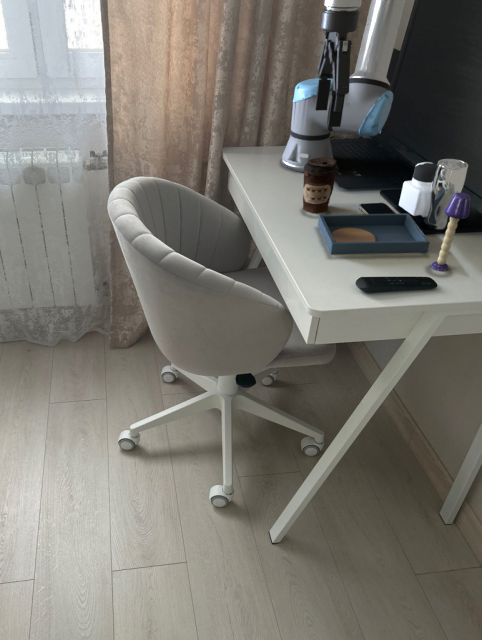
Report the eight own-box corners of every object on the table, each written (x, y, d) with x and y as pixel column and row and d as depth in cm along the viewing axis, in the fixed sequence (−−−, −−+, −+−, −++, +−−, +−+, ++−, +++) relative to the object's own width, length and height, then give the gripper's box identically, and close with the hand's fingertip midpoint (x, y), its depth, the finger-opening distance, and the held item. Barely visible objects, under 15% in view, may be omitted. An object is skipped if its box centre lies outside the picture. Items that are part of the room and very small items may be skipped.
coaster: (327, 229, 135) (327, 228, 134) (368, 228, 135) (369, 227, 135) (336, 248, 127) (336, 247, 127) (380, 247, 127) (380, 246, 127)
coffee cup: (331, 220, 141) (339, 168, 132) (297, 218, 142) (303, 166, 133) (332, 206, 147) (339, 156, 139) (300, 204, 148) (305, 154, 140)
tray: (317, 228, 137) (319, 214, 135) (405, 226, 138) (408, 213, 135) (330, 258, 126) (332, 243, 123) (426, 256, 126) (430, 241, 124)
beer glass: (415, 222, 139) (430, 161, 130) (437, 217, 142) (454, 156, 132) (434, 233, 135) (451, 170, 125) (457, 228, 137) (476, 166, 127)
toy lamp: (429, 263, 123) (450, 188, 113) (451, 267, 122) (475, 192, 111) (427, 273, 120) (448, 197, 109) (450, 277, 119) (474, 201, 108)
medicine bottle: (437, 215, 142) (450, 168, 135) (412, 219, 141) (424, 171, 133) (421, 204, 148) (433, 158, 140) (397, 208, 146) (407, 161, 138)
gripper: (311, 1, 126) (301, 104, 139) (337, 17, 106) (322, 134, 120) (345, 1, 126) (331, 103, 139) (376, 16, 107) (357, 133, 120)
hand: (327, 118), depth 130 cm, fingers open, 13 cm apart
